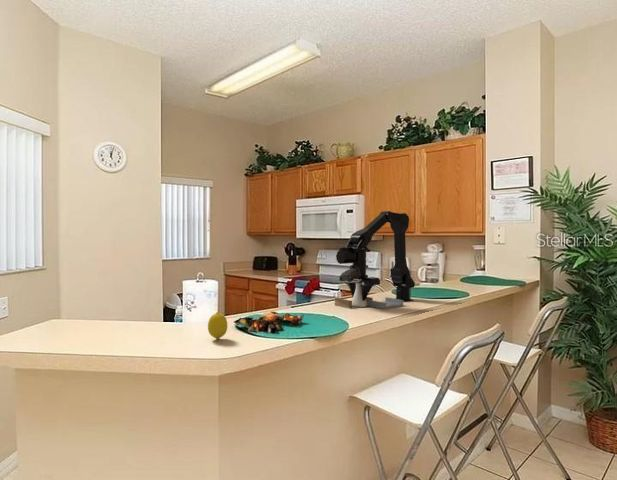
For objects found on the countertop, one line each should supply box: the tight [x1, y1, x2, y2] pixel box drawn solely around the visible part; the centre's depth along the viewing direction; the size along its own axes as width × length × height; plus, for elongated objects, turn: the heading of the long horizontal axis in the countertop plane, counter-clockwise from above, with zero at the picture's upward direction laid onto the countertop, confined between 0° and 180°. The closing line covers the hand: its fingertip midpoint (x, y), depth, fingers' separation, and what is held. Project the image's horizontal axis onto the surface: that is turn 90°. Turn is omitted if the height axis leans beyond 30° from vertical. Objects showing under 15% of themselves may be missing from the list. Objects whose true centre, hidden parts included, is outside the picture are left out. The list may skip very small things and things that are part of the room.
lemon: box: [207, 311, 228, 341], centre depth 116 cm, size 6×6×8 cm
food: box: [233, 311, 305, 334], centre depth 135 cm, size 22×19×4 cm
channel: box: [334, 296, 374, 310], centre depth 171 cm, size 14×9×3 cm, turn 128°
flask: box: [351, 281, 369, 308], centre depth 169 cm, size 7×7×10 cm
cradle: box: [368, 296, 404, 310], centre depth 170 cm, size 12×9×2 cm
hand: (358, 299), depth 169 cm, fingers closed on flask, 5 cm apart
